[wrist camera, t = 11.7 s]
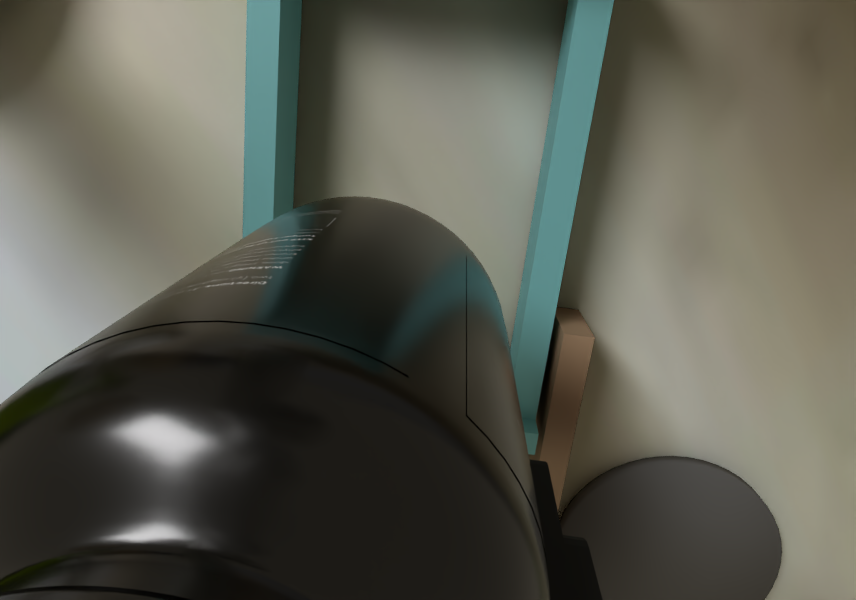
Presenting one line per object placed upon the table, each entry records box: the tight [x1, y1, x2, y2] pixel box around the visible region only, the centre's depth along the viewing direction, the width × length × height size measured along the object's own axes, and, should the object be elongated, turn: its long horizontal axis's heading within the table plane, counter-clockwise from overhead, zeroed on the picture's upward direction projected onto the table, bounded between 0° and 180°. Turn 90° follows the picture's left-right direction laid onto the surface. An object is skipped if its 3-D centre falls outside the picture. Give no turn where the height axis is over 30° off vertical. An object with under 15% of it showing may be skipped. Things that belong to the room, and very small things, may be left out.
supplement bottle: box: [0, 197, 551, 600], centre depth 9 cm, size 7×7×12 cm
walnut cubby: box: [528, 307, 595, 510], centre depth 23 cm, size 18×13×3 cm
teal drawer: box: [243, 0, 614, 455], centre depth 18 cm, size 16×11×4 cm, turn 173°
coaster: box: [560, 456, 782, 600], centre depth 24 cm, size 9×9×1 cm
